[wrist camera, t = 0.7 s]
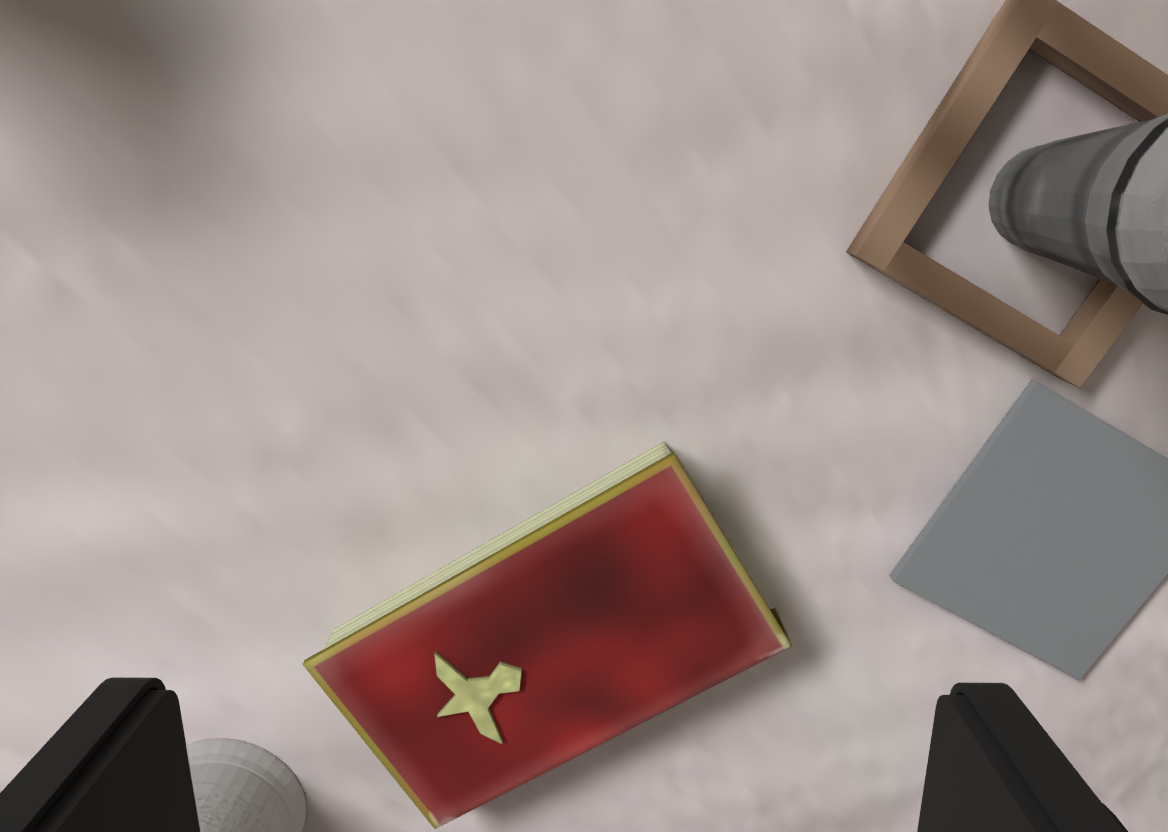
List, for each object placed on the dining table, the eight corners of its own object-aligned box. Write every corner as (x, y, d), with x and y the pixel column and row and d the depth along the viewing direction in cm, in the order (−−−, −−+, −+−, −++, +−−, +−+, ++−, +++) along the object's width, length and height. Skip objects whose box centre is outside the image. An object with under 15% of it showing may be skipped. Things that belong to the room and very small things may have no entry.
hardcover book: (777, 611, 45) (796, 655, 41) (450, 782, 48) (438, 838, 44) (666, 428, 42) (675, 456, 38) (326, 622, 45) (300, 667, 41)
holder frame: (1012, -10, 36) (1029, -18, 35) (1238, 140, 38) (1265, 139, 36) (846, 252, 39) (856, 254, 38) (1062, 379, 41) (1079, 387, 39)
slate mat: (1032, 379, 41) (1038, 382, 40) (1223, 492, 42) (1231, 496, 42) (889, 575, 44) (893, 581, 43) (1073, 673, 45) (1079, 680, 45)
